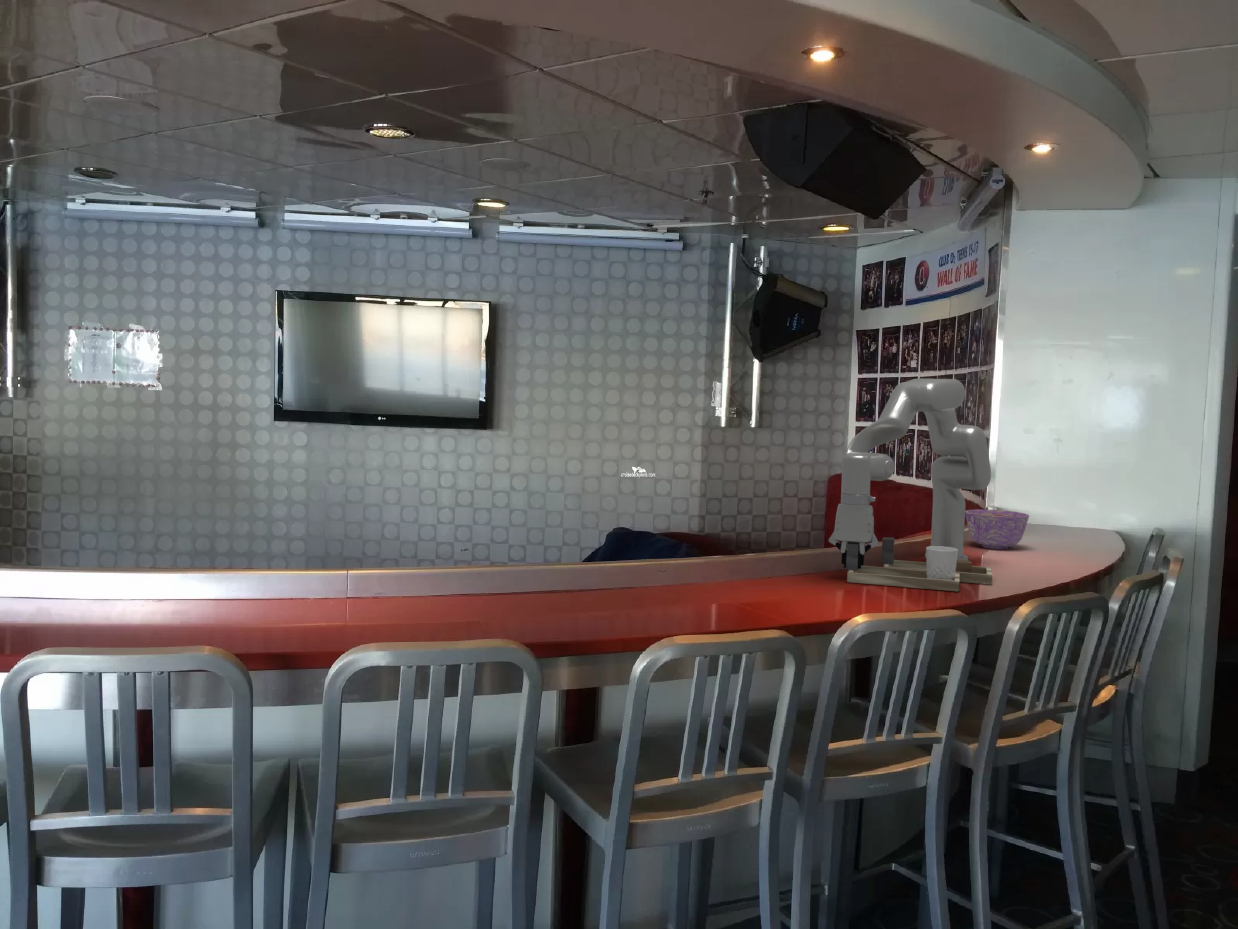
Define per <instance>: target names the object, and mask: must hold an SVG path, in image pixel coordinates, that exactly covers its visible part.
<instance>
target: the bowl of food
mask: <svg viewBox="0 0 1238 929" xmlns="http://www.w3.org/2000/svg"><path fill="white" fill-rule="evenodd" d="M1029 517H1030V515H1029V514H1028V513H1024V512H1019V511H1009V510H1002V509H1001V510H1000V509H999V510H998V509H968V510H967V509H966V510H965V518H966V519H965V520H966V523H967V529H968V532H969V535H970V538H972V540H973V541H974V542H976V544H979V545H981V547H982V548H985V549H991V550H1007V549H1009V547H1012V546H1015V545H1017V544H1019V543H1020V542H1021V541H1022V539H1023V536H1024V534H1025V531H1026V527H1027V524H1028V521H1029Z"/></svg>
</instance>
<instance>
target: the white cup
mask: <svg viewBox="0 0 1238 929" xmlns="http://www.w3.org/2000/svg"><path fill="white" fill-rule="evenodd" d="M925 551H926V552H925V553H926V557H925V559H926V560H925V562H926V571H927V573H926V574H927V579H939V580H951V581H954V578H955V573H956V564H957V554H958V549H956V548H951V547H943V546H931V545H930V546H926V548H925Z"/></svg>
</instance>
